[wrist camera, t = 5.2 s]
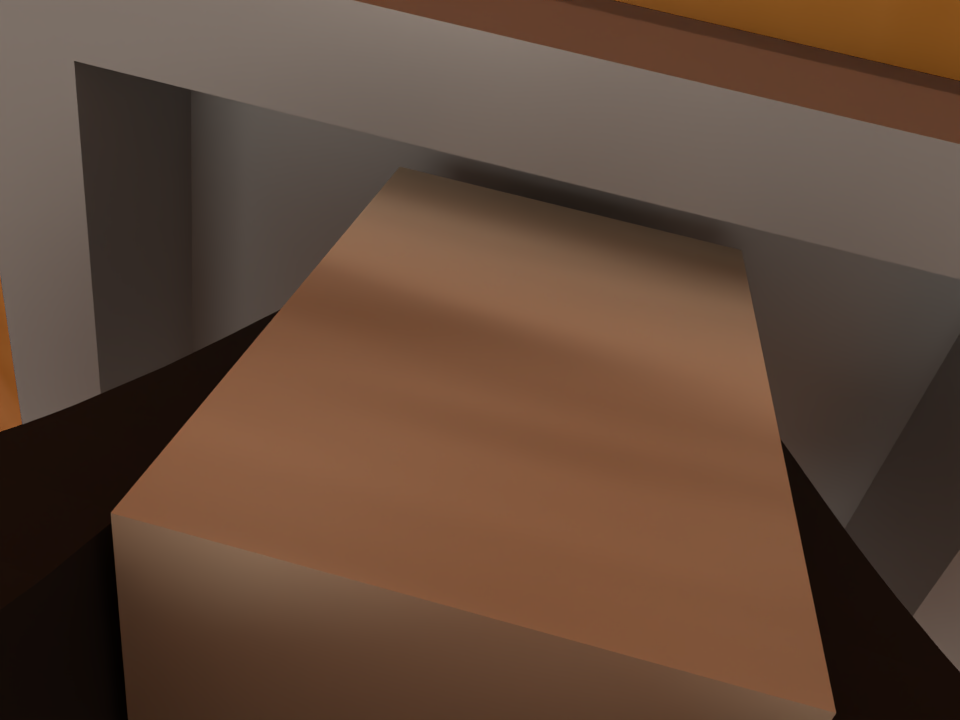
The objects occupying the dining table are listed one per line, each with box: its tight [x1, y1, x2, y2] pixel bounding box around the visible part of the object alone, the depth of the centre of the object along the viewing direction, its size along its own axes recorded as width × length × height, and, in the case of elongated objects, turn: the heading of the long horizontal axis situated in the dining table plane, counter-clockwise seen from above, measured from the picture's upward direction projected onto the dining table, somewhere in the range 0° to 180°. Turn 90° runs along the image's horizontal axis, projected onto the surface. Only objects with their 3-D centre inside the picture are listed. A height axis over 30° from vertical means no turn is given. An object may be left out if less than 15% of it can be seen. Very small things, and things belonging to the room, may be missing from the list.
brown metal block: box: [111, 167, 836, 720], centre depth 8 cm, size 4×4×6 cm
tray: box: [0, 0, 960, 671], centre depth 13 cm, size 16×13×4 cm
